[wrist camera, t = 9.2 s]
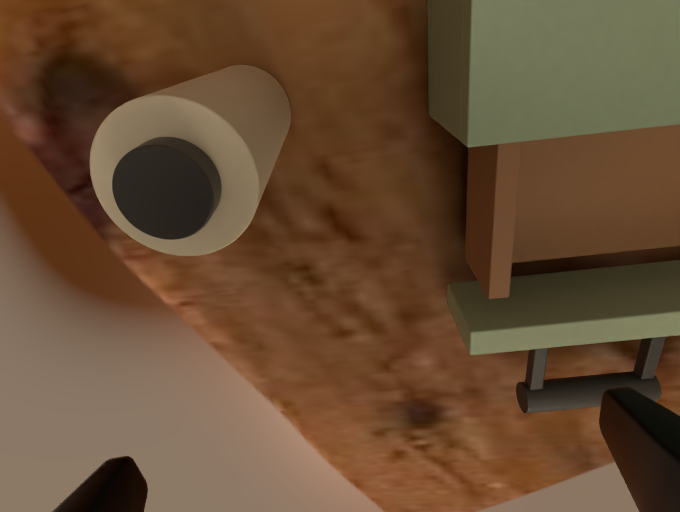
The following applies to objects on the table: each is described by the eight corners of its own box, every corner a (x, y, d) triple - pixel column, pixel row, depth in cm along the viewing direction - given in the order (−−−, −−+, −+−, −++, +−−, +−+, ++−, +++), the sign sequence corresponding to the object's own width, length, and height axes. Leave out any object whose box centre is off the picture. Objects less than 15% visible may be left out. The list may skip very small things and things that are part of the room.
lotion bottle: (308, 104, 18) (288, 177, 9) (260, 174, 19) (199, 301, 10) (230, 44, 16) (115, 57, 8) (185, 122, 18) (40, 213, 9)
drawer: (674, 356, 23) (734, 412, 19) (446, 378, 23) (466, 437, 20) (802, -53, 15) (943, -78, 11) (449, -10, 15) (484, -23, 12)
